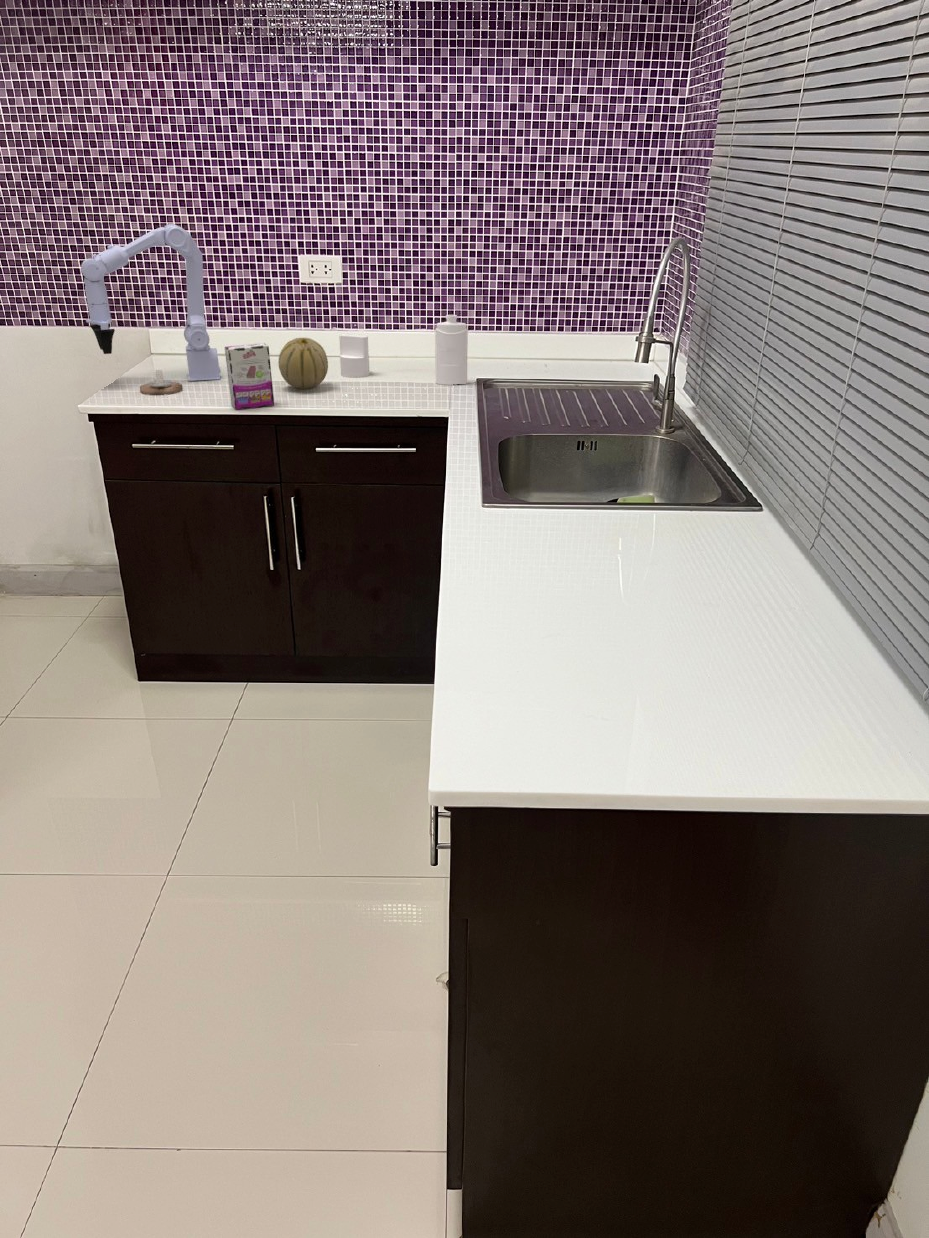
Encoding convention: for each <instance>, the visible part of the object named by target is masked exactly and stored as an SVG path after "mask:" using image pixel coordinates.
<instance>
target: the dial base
mask: <svg viewBox="0 0 929 1238" xmlns="http://www.w3.org/2000/svg"><path fill="white" fill-rule="evenodd" d="M171 384H172V385H171V386H170V387H165V388H152V387H150V382H149V383H146V384H142V385H140V386H139V392H140V394H143V395H146V394H150V395H149V396H165V395H164V394H168V395H173V394H177V393H181V392H182V391H183V390H182V389H184V388H183V384H182V383H180V382H175V381H174V382H173V381H171ZM180 391H181V392H180Z"/></svg>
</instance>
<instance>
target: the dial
mask: <svg viewBox="0 0 929 1238" xmlns="http://www.w3.org/2000/svg"><path fill="white" fill-rule="evenodd" d="M155 377H156V378H155V379H156V380H151V381H150V382H149V383H150V387H152V388H165V387H170V386H171V385H172V384H171V382H172V381H171V380H170V379H169V380H168V379H164V374H163V370H162V369H157V370H156V369H155Z"/></svg>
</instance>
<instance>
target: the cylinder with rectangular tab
mask: <svg viewBox="0 0 929 1238" xmlns="http://www.w3.org/2000/svg"><path fill="white" fill-rule="evenodd" d="M339 351H340V352H339V359H340V360H339V362H340V376H341V377H344V378H347V379H348V378H350V379H351V378H352V379H354V378H355V379H358V378H359V379H360V378H366V377H369V376H370V374H371V373H370V355H369V336H368V335H360V334H359V335H358V334H348V333H347V334H346V333H342V334H339Z"/></svg>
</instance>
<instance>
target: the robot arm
mask: <svg viewBox="0 0 929 1238" xmlns="http://www.w3.org/2000/svg"><path fill="white" fill-rule="evenodd" d="M166 246H169V247H170V248H171V249H173V250H175V251H177V253H178V254H179V255H180V256H182V257H183V258H184V260H185V274H186V275H185V277H186V278H185V279H186V305H187V310H186V311H187V316H186V326H185V328H184V331H183V338H184V340H185V341H186V342H187V345H186V347H185V355H186V360H187V368H188V369H187V370H188V374H187V380H188V382H190V381H191V382H192V381H193V382H194V381H195V382H196V381H209V380H210V381H213V380H214V381H215V380H220V379H221V374H220V373H221V367H220V364H219V355H218V349H217V348H216V347H215V348H214V347H213V348H211V346H210V345H209V343H210V335H209V333H208V331H207V324H206V319H205V304H204V303H205V301H204V300H205V297H204V271H203V270H204V266H203V261H204V259H203V253H202V251H201V249H200V248H199V247H198V245H197V243H196V241H194V239H193V237H192V235H191V234H190V232H188V231H187V230H185V228H183V227H181V226H179V225H177V224H174V223H168V224H166V225H164V227H163V226H161V227H157V228H156V229H153V230H151V231H149V232H147V233H145V234H144V235H141V236H140V237H138V238H135V239H134V240H133V241H131V242H129V243H128V244H126V245H124V246H121V245H118V244H115V245H112V244H110V245H107V249H106V250H104V251H102V252H100V253H97V254H96V253H93V254H92V258H86V259H85V260H83V262H82V263H81V266H80V267H81V269H80V271H81V274H82V275H83V277H84V278H83V282H84V285H85V286H84V291H85V297H86V302H87V307H88V308H87V309H88V315H89V318H88V319H85V322H86V323H88V324H90V325H89V327H90V328H91V330H92V331H93V333H94V336H95V337H96V341H97V344H98V346H99V347H98V348H100V351H102V352H103V355H111V354H113V353H112V352H113V338H114V334H115V328H111V323H112V322H113V318H112V317H111V311H110V304H109V298H108V297H109V296H108V292H107V286H106V285H105V279H104V277H105V276H106V275H110V274H111V273H113V272H115V271H117V270H119V269H121V268H123V267H125V266H127V265H128V264H129V259H130V258H131V257H134V256H136V255H138V254H140V253H141V252H144V251H146V250H148V249H150V248H153V247H163V248H164V247H165V248H166Z"/></svg>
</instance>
